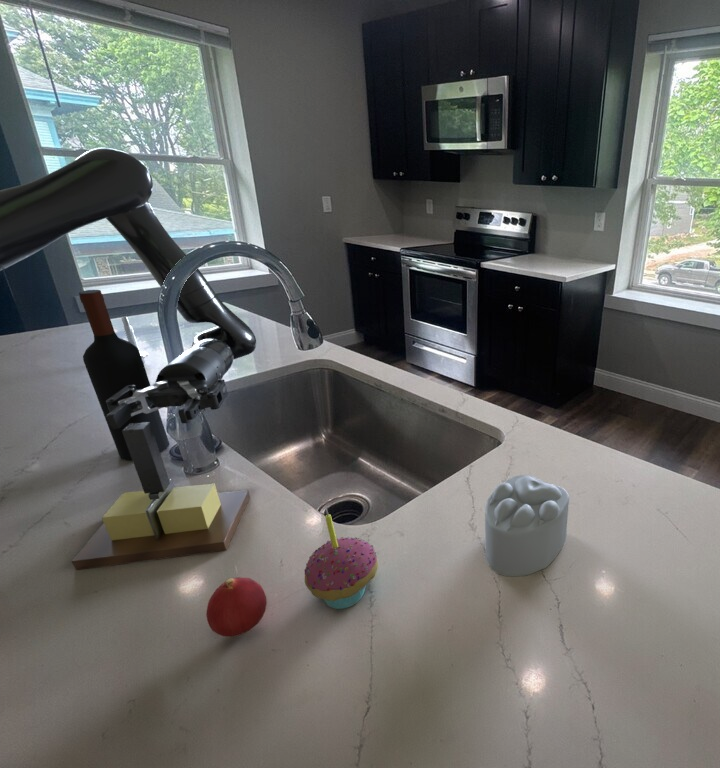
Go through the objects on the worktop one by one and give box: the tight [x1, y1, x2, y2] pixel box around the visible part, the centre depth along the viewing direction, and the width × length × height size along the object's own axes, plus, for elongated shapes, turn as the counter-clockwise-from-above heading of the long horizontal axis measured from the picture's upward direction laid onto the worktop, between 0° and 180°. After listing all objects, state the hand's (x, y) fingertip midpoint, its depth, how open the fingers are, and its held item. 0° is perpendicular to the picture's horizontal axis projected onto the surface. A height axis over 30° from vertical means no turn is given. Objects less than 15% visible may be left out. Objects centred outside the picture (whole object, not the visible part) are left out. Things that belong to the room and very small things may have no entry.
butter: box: [101, 483, 221, 540], centre depth 67 cm, size 12×6×4 cm, turn 103°
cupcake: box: [304, 508, 379, 610], centre depth 56 cm, size 9×8×12 cm
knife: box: [122, 422, 176, 539], centre depth 65 cm, size 2×8×16 cm, turn 13°
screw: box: [121, 315, 149, 364], centre depth 124 cm, size 13×5×5 cm
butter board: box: [71, 489, 251, 571], centre depth 68 cm, size 18×12×2 cm, turn 103°
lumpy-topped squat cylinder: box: [484, 474, 570, 577], centre depth 66 cm, size 10×13×9 cm
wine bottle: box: [78, 289, 170, 462], centre depth 82 cm, size 8×8×30 cm
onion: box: [205, 576, 268, 638], centre depth 52 cm, size 6×6×8 cm
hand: (148, 420), depth 64 cm, fingers open, 8 cm apart
